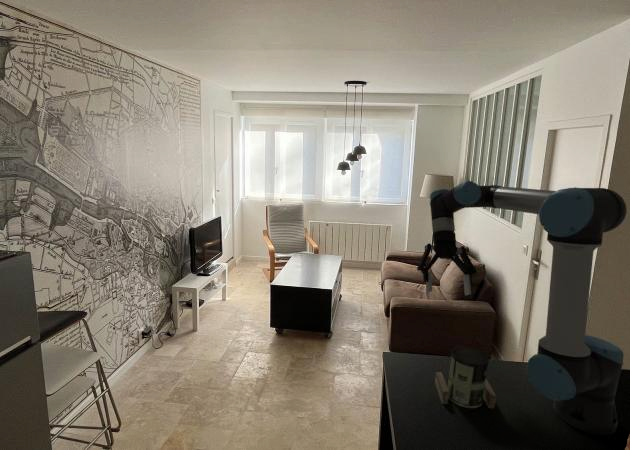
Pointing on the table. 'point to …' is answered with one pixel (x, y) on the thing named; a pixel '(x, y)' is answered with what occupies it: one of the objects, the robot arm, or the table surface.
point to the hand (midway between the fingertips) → (448, 293)
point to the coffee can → (467, 376)
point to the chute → (444, 392)
